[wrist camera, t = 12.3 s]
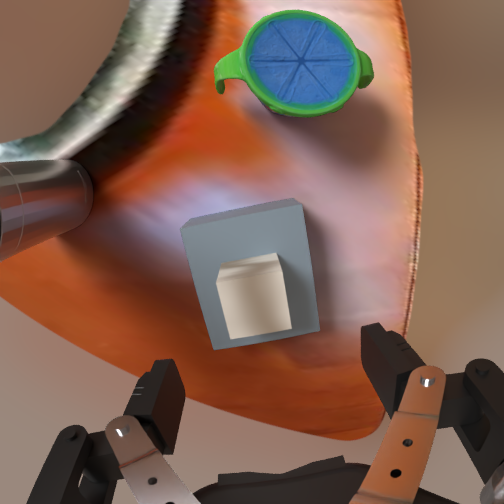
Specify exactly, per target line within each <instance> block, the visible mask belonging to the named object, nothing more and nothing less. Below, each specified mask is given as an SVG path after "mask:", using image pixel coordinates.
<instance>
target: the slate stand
mask: <svg viewBox="0 0 504 504" xmlns="http://www.w3.org/2000/svg"><path fill="white" fill-rule="evenodd" d="M180 231H181V235H182V239H183V243H184V247H185V251H186V255H187V259H188V262H189V266H190V270H191V274H192V277H193V281H194V285H195V288H196V292H197V295H198V299H199V302H200V306H201V309H202V313H203V316H204V320H205V323H206V327H207V330H208V333H209V336H210V340H211V343H212V346H213V349H214V350H218V349H225V348H232V347H238V346H244V345H250V344H256V343H261V342H267V341H272V340H278V339H283V338H288V337H293V336H298V335H303V334H308V333H312V332H317V331H320V325H319V317H318V309H317V301H316V293H315V286H314V279H313V272H312V265H311V258H310V251H309V245H308V238H307V232H306V226H305V220H304V214H303V208H302V204H301V203H300V202H298V201H297V200H295V199H294V198H291V199H285V200H280V201H275V202H269V203H264V204H259V205H254V206H249V207H244V208H239V209H234V210H229V211H224V212H220V213H215V214H210V215H205V216H201V217H196V218H192V219H190V220H189V221H188V222H187V223H186V224H185V225H183V226H182V227H181V228H180ZM272 253H277V256H278V259H279V262H280V266H281V269H282V273H283V278H284V284H285V290H286V296H287V302H288V308H289V314H290V321H291V327H292V329H287V330H282V331H277V332H271V333H266V334H260V335H254V336H248V337H242V338H236V339H230V336H229V332H228V328H227V324H226V320H225V317H224V313H223V309H222V305H221V301H220V297H219V293H218V289H217V285H216V281H217V278H218V274H219V270H220V266H221V263H224V262H230V261H235V260H240V259H246V258H251V257H256V256H261V255H267V254H272Z"/></svg>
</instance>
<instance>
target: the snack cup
mask: <svg viewBox="0 0 504 504" xmlns="http://www.w3.org/2000/svg"><path fill="white" fill-rule="evenodd" d="M214 74H215V86H216V90H217V92H218V93H219V94H223V93H224V90H225V84H224V80H225V79H241V80H243V81H245V82H246V83H247V85H248V87H249V88H250V89H251V91H252V92H253V93H254V94H255V96H256V97H257V98H258V99H259V100H260V102H261V103H262V104H263V105H264V106H265V107H266V108H267V109H269V110H270V111H272V112H273V113H276V114H279V115H282V116H291V117H293V116H295V117H307V118H309V117H316V116H320V115H324V114H327V113H330V112H331V113H333V112H336V111H338V110H339V109H341V108H343V105H344V103H345V102H347V101H348V100H349V99H350V97H351V96H352V95H353V93H354V92H355V90H356V88H357V86H358V88H360V89H362V88H366V87H367V86H368V85H369V84H370V82H371V81H372V80H373V78H374V72H373V67H372V62H371V59H370V58H369V57H368V55H367V54H365V53H364V52H363V51H361V50H359V49H357V48H356V47H355V45H354V43H353V41H352V40H351V38H350V37H349V36H348V34H347V33H346V32H345V31H344V30H343V29H342V28H341V27H340V26H338V25H337V24H336V23H334V22H333V21H331V20H329V19H328V18H326V17H324V16H321V15H319V14H316V13H313V12H309V11H303V10H285V11H280V12H276V13H273V14H271V15H267V16H265V17H263V18H261V20H260V21H258V22H257V23H256V24H255V25H254V26H253V27H252V28H251V29H250V30H249V32H248V33H247V35H246V37H245V39H244V41H243V44H242V46H241V47H240V48H239V49H237V50H235V51H233V52H231V53H230V54H228V55H226V56H225V57H223V58H222V59H221V60H220V61H219V62H218V63H217V64H216V65H215V67H214Z"/></svg>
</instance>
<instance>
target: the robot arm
mask: <svg viewBox="0 0 504 504" xmlns="http://www.w3.org/2000/svg"><path fill="white" fill-rule="evenodd" d="M92 204H93V185H92V182H91V179H90V176H89V175H88V173H87V171H86V170H85V169H84V167H83V166H81V165H80V164H79V163H77V162H75V161H73V160H34V161H16V162H1V163H0V262H1V261H3V260H5V259H7V258H9V257H11V256H13V255H15V254H17V253H19V252H21V251H24V250H26V249H28V248H30V247H32V246H35V245H37V244H39V243H41V242H43V241H46V240H48V239H50V238H53V237H55V236H57V235H60V234H62V233H65V232H67V231H69V230H72V229H74V228H76V227H78V226H79V225H81V224H82V223H83V222H84V221H85V220H86V218H87V217H88V215H89V213H90V211H91V208H92ZM361 361H362V365H363V368H364V370H365V372H366V374H367V376H368V378H369V379H370V381H371V383H372V385H373V387H374V389H375V391H376V392H377V394H378V396H379V398H380V400H381V402H382V404H383V405H384V407H385V409H386V411H387V413H388V415H389V417H390V419H391V422H390V425H389V427H388V430H387V432H386V434H385V437H384V439H383V441H382V443H381V446H380V448H379V450H378V452H377V455H376V457H375V459H374V461H373V463H372V465H366V464H360V463H345V460H344V457H343V456H338V457H334V458H330V459H326V460H320V461H316V462H312V463H310V464H307V465H304V466H302V467H299V468H297V469H294V470H291V471H289V472H286V473H283V474H269V473H255V472H241V473H230V474H218V482H217V483H214V484H211V485H208V486H206V487H203V488H201V489H199V490H198V491H196V492H194V493H193V494H192V493H191V492H190V490H189V489H188V488H187V487H186V486H185V484H184V483H183V482H182V481H181V479H180V478H179V477H178V475H177V474H176V473H175V472H174V470H173V469H172V468H171V466H170V465H169V464H168V463H167V461H166V460H165V458H164V457H163V454H166V455H170V454H171V455H172V454H173V452H174V448H175V443H176V439H177V433H178V429H179V424H180V420H181V416H182V411H183V407H184V402H185V389H184V385H183V383H182V380H181V377H180V375H179V372H178V369H177V367H176V364H175V362H174V360H173V359H164V360H155V362H154V364H153V366H152V369H151V371H150V372H146V373H145V374H144V375H143V376H142V377H141V378H140V379H139V380H138V382H137V384H136V386H135V389H134V391H133V393H132V396H131V398H130V400H129V402H128V404H127V407H126V409H125V411H124V414H123V416H120V417H117V418H115V419H113V420H111V421H110V422H109V423H108V424H107V426H106V428H105V431H100V432H95V433H90V434H88V433H87V431H86V429H85V428H84V427H82V426H80V425H72V426H69V427H66V428H65V429H63V430H62V431H61V432H60V433H59V435H58V436H57V439H56V441H55V443H54V444H53V446H52V449H51V451H50V453H49V455H48V457H47V459H46V461H45V463H44V465H43V467H42V470H41V472H40V474H39V476H38V478H37V480H36V483H35V485H34V487H33V489H32V492H31V494H30V496H29V499H28V501H27V504H112V500H113V496H114V492H115V488H116V484H117V480H119V479H125V480H126V482H127V484H128V486H129V487H130V489H131V491H132V493H133V495H134V496H135V498H136V500H137V501H138V503H139V504H459V503H457V502H454V501H451V500H449V499H446V498H443V497H441V496H438V495H436V494H434V493H431V492H429V491H426V490H424V489H422V488H420V487H419V485H420V482H421V479H422V476H423V473H424V470H425V467H426V464H427V461H428V458H429V454H430V451H431V447H432V444H433V440H434V437H435V433H436V429H441V428H448V427H453V428H454V430H455V432H456V433H457V435H458V437H459V438H460V440H461V442H462V444H463V446H464V447H465V449H466V451H467V453H468V454H469V456H470V458H471V460H472V462H473V464H474V465H475V467H476V469H477V471H478V473H479V475H480V477H481V478H482V480H483V482H484V484H485V486H484V487H483V489H482V491H481V494H480V502H481V504H504V373H503V371H502V370H501V369H500V368H499V367H498V366H497V365H496V364H495V363H494V362H492V361H490V360H488V359H475V360H472V361H471V362H469V363H468V364H467V366H466V368H465V372H463V373H455V374H445V373H444V371H443V370H442V369H440V368H438V367H435V366H427V365H426V364H425V363H424V362H423V361H422V359H421V358H420V357H419V356H418V354H417V353H416V352H415V351H414V350H413V349H412V348H411V346H410V345H409V344H408V343H407V341H406V340H405V339H404V338H403V337H402V336H401V335H400V334H398V333H396V332H394V331H392V330H391V331H388V332H386V331H385V329H384V328H383V327H382V326H381V324H380V323H378V322H377V323H374V324H370V325H366V326H362V327H361ZM82 474H83V477H82V480H81V484H80V486H79V487H78V484H79V480H80V477H81V475H82Z"/></svg>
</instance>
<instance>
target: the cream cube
mask: <svg viewBox="0 0 504 504" xmlns="http://www.w3.org/2000/svg"><path fill="white" fill-rule="evenodd" d="M216 285H217V289H218V293H219V297H220V301H221V305H222V309H223V313H224V317H225V320H226V324H227V328H228V332H229V336H230V339H236V338H242V337H248V336H254V335H260V334H266V333H271V332H277V331H282V330H287V329H292V327H291V321H290V314H289V308H288V302H287V296H286V290H285V284H284V278H283V273H282V269H281V266H280V262H279V259H278V256H277V253H272V254H267V255H261V256H256V257H251V258H246V259H240V260H235V261H230V262H224V263H221V266H220V270H219V274H218V278H217V281H216Z"/></svg>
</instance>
